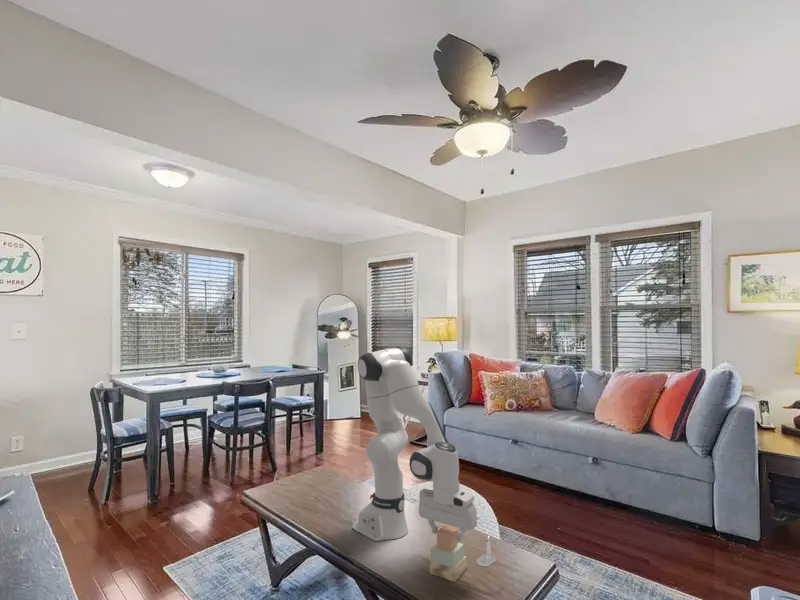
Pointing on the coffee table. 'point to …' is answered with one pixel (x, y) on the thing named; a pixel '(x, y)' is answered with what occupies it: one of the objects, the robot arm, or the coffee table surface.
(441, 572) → the tower base
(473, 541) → the coffee table surface
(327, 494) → the coffee table surface
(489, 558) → the stand
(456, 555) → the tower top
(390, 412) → the robot arm
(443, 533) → the terracotta block
